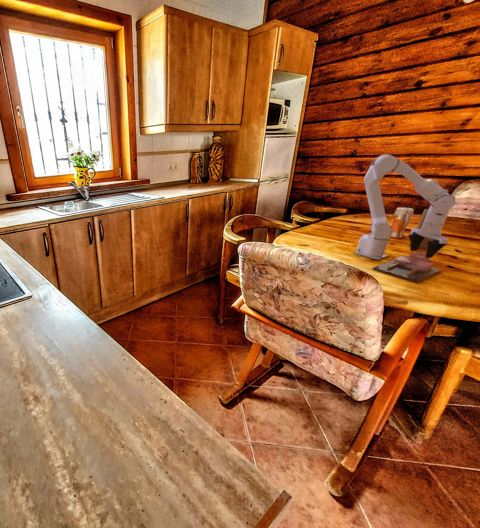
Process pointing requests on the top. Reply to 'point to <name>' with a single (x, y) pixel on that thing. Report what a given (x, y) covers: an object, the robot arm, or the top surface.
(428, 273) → the board
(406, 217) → the beer glass
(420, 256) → the loose pad
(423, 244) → the wooden block
